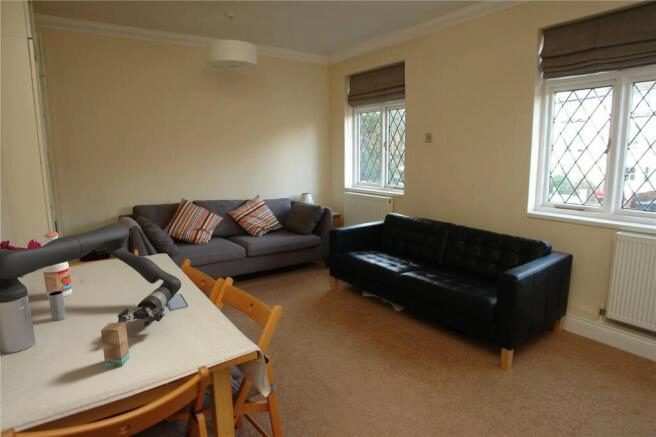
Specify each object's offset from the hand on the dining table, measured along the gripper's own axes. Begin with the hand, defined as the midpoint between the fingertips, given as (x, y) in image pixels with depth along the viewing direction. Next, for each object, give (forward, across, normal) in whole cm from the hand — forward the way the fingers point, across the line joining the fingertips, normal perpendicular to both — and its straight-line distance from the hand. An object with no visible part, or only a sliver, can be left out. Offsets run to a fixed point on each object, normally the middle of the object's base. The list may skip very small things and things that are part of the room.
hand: (132, 324), depth 133 cm
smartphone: (-34, -2, -8) cm, 35 cm away
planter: (-20, +38, -7) cm, 44 cm away
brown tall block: (+11, 0, +5) cm, 12 cm away
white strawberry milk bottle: (-44, +53, -7) cm, 69 cm away
